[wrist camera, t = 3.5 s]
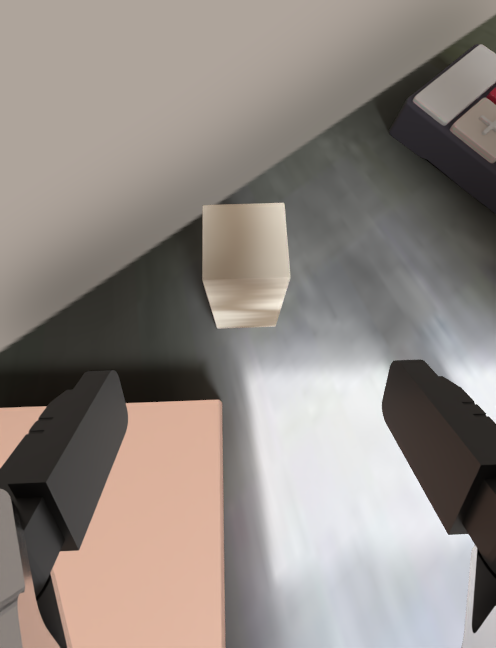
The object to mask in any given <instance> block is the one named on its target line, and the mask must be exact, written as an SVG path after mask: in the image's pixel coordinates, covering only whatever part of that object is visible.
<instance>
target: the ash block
mask: <svg viewBox="0 0 496 648" xmlns="http://www.w3.org/2000/svg"><path fill="white" fill-rule="evenodd" d="M202 280H203V283H204V287H205V290H206V293H207V297H208V300H209V303H210V306H211V310H212V313H213V316H214V319H215V323H216V326H217V328H245V327H275V326H276V323H277V320H278V316H279V313H280V310H281V306H282V303H283V300H284V297H285V293H286V290H287V287H288V283H289V280H290V266H289V254H288V242H287V230H286V218H285V206H284V203H263V204H227V205H203V259H202Z"/></svg>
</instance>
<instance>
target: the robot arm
mask: <svg viewBox="0 0 496 648" xmlns="http://www.w3.org/2000/svg"><path fill="white" fill-rule="evenodd" d="M382 412H383V416H384V420H385V422H386V424H387V426H388V428H389V429H390V431H391V433H392V435H393V437H394V438H395V440H396V442H397V444H398V445H399V447H400V449H401V451H402V453H403V454H404V456H405V458H406V460H407V462H408V463H409V465H410V467H411V469H412V471H413V472H414V474H415V476H416V478H417V479H418V481H419V483H420V485H421V487H422V488H423V490H424V492H425V494H426V496H427V497H428V499H429V501H430V503H431V505H432V506H433V508H434V510H435V512H436V513H437V515H438V517H439V519H440V521H441V522H442V524H443V526H444V528H445V530H446V531H447V533H448V535H453V534H469V535H470V537H471V539H472V540H473V542H474V544H475V545H474V547H473V549H472V552H471V560H470V571H469V582H468V594H467V605H466V616H465V627H464V636H463V642H462V647H461V648H496V424H495V422H494V421H493V420H492V419H491V418H490V417H486V413H485V412H484V411H483V410H482V409H481V408H480V407H479V406H478V405H477V404H476V405H475V404H474V401H473V400H472V399H471V398H470V397H469V396H468V395H467V393H466V392H465V391H464V390H463V389H462V388H461V387H459V386H457V385H456V384H454V383H453V382H451V381H449V380H448V379H446V378H444V377H443V376H438V375H437V374H436V373H435V372H434V371H433V370H432V369H431V368H430V367H429V366H428V364H427V363H426V362H425V361H423V360H397V361H393V362H392V364H391V366H390V369H389V374H388V378H387V383H386V387H385V391H384V396H383V401H382ZM127 426H128V411H127V407H126V403H125V399H124V395H123V391H122V388H121V384H120V380H119V376H118V374H117V372H116V371H114V370H108V371H87V372H85V373H84V374H83V376H82V377H81V379H80V380H79V381H78V383H77V384H76V386H75V387H74V389H73V390H66V391H65V392H63V393H62V394H61V395H59V396H58V397H57V398H55V399H54V400H53V401H51V402H50V403H49V404H48V406H47V407H46V408H45V410H44V411H43V412H42V414H41V415H40V416H39V418H38V421H36V422H35V423H34V424H33V426H32V427H31V428H30V430H29V433H28V434H26V435H25V436H24V438H23V439H22V440H21V442H20V443H19V444H18V446H17V447H16V448H15V450H14V451H13V452H12V454H11V455H10V456H9V458H8V459H7V460H6V462H5V463H4V464H3V466H2V467H1V468H0V648H72V644H71V639H70V635H69V631H68V627H67V623H66V619H65V615H64V610H63V606H62V602H61V598H60V594H59V590H58V585H57V581H56V577H55V573H54V571H53V569H52V568H53V566H54V564H55V561H56V559H57V557H58V555H59V552H60V551H79V549H80V547H81V544H82V542H83V539H84V537H85V534H86V532H87V529H88V527H89V524H90V522H91V519H92V517H93V514H94V512H95V509H96V507H97V504H98V502H99V499H100V496H101V494H102V491H103V489H104V486H105V484H106V481H107V479H108V476H109V474H110V471H111V469H112V466H113V464H114V461H115V459H116V456H117V454H118V451H119V449H120V446H121V444H122V441H123V438H124V436H125V433H126V430H127Z"/></svg>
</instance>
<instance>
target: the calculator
mask: <svg viewBox="0 0 496 648" xmlns="http://www.w3.org/2000/svg"><path fill="white" fill-rule="evenodd" d="M389 134H390V135H391V136H393V137H394V138H395V139H397V140H398V141H399V142H401V143H402V144H403V145H405V146H406V147H407V148H409V149H410V150H411V151H413V152H414V153H415V154H417V155H418V156H419V157H421V158H426V159H427V160H428V161H430V162H431V163H432V164H433V165H435V166H436V167H437V168H438V169H439V170H441V171H442V172H443V173H444V174H445V175H447V176H448V177H449V178H450V179H452V180H453V181H454V182H455V183H456V184H458V185H459V186H460V187H461V188H463V189H464V190H465V191H466V192H468V193H469V194H470V195H472V196H473V197H474V198H476V199H477V200H478V201H480V202H481V203H482V204H484V205H485V206H486V207H488V208H489V209H490V210H492V211H493V212H494V213H496V54H495V53H494V52H492V51H491V50H489V49H488V48H487V47H485V46H484V45H482V44H481V45H478V44H476V45H474V46H473V47H471V48H470V49H469V50H468V51H466V52H465V53H464V54H463V55H461V56H460V57H459V58H458V59H456V60H455V61H454V62H452V63H451V64H450V65H449V66H447V67H446V68H445V69H444V70H442V71H441V72H440V73H439V74H437V75H436V76H435V77H434V78H432V79H431V80H430V81H429V82H427V83H426V84H425V85H424V86H422V87H421V88H420V89H418V90H417V91H416V92H415V93H413V94H412V95H411V96H410V97H408V98H407V99H406V101H405V102H404V104H403V106H402V108H401V109H400V111H399V113H398V115H397V117H396V118H395V120H394V122H393V124H392V126H391V128H390V129H389Z"/></svg>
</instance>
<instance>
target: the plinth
mask: <svg viewBox="0 0 496 648" xmlns="http://www.w3.org/2000/svg"><path fill="white" fill-rule="evenodd" d="M46 407H47V406H40V407H14V408H0V468H1V467H2V466H3V464H4V463H5V462H6V460H7V459H8V458H9V456H10V455H11V454H12V452H13V451H14V450H15V448H16V447H17V446H18V444H19V443H20V442H21V440H22V439H23V438H24V436H25V435H26V434H28V433H29V430H30V428H31V427H32V426H33V424H34V423H35V422H36V421H38V418H39V416H40V415H41V414H42V412H43V411H44V410H45V408H46ZM126 407H127V411H128V426H127V430H126V433H125V436H124V438H123V441H122V444H121V446H120V449H119V451H118V454H117V456H116V459H115V461H114V464H113V466H112V469H111V471H110V474H109V476H108V479H107V481H106V484H105V486H104V489H103V491H102V494H101V496H100V499H99V502H98V504H97V507H96V509H95V512H94V514H93V517H92V519H91V522H90V524H89V527H88V529H87V532H86V534H85V537H84V539H83V542H82V544H81V547H80V549H79V551H60V552H59V555H58V557H57V559H56V561H55V564H54V566H53V568H52V569H53V571H54V573H55V577H56V581H57V585H58V590H59V594H60V598H61V602H62V606H63V610H64V615H65V619H66V623H67V627H68V631H69V635H70V639H71V644H72V648H225V583H224V510H223V436H222V402H221V401H220V400H197V401H171V402H145V403H126Z"/></svg>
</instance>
